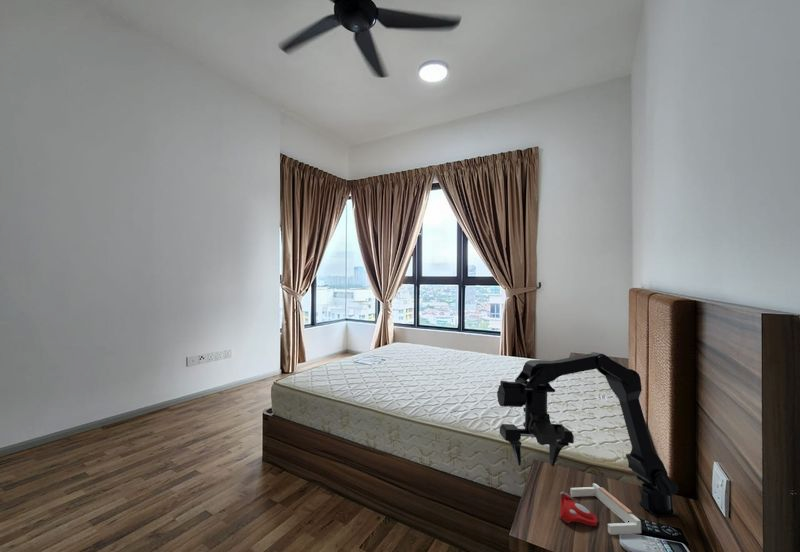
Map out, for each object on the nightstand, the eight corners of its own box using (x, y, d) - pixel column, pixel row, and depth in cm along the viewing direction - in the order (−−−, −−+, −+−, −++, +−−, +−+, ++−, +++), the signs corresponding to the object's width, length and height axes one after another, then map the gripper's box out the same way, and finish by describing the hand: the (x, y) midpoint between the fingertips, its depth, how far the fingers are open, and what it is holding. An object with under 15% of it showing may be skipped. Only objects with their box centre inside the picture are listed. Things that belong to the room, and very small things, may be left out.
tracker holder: (606, 517, 91) (584, 520, 86) (601, 533, 91) (579, 537, 86) (565, 486, 101) (544, 487, 96) (560, 500, 101) (539, 502, 96)
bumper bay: (596, 493, 104) (595, 482, 104) (641, 533, 86) (640, 518, 86) (570, 494, 103) (570, 483, 103) (610, 534, 85) (609, 520, 86)
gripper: (513, 415, 87) (512, 479, 86) (585, 417, 88) (585, 481, 87) (499, 402, 99) (498, 459, 97) (563, 405, 99) (563, 461, 98)
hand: (535, 465), depth 94 cm, fingers open, 9 cm apart
